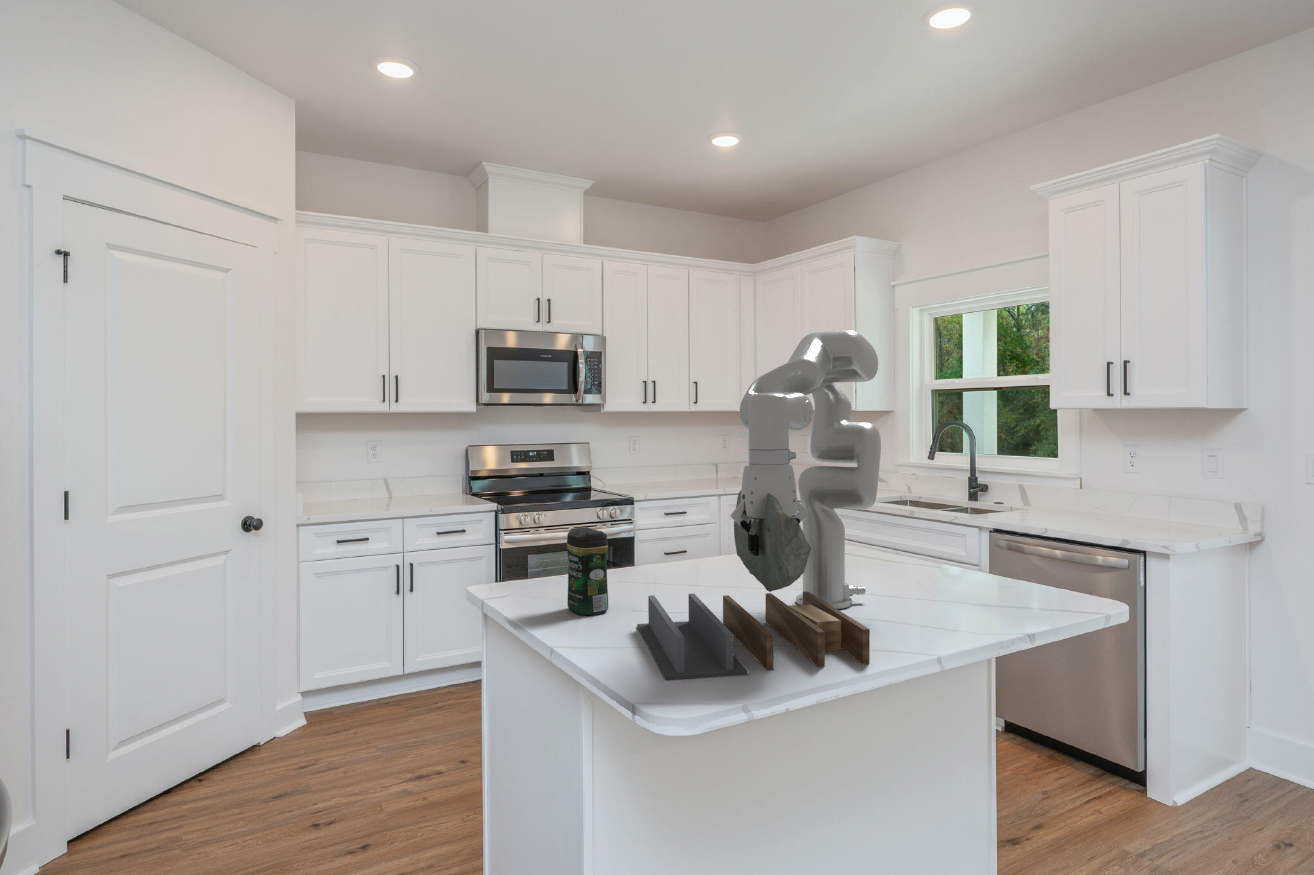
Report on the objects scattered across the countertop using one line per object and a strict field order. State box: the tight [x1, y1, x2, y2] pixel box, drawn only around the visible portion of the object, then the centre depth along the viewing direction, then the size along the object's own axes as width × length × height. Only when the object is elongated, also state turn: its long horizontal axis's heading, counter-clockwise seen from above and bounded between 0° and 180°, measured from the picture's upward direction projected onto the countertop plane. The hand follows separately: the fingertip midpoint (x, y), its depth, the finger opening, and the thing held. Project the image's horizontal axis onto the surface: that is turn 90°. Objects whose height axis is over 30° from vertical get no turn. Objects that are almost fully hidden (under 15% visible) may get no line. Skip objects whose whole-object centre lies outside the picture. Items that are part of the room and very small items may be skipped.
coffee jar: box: [566, 526, 609, 616], centre depth 168 cm, size 10×8×19 cm
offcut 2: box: [825, 631, 842, 644], centre depth 144 cm, size 5×12×2 cm, turn 18°
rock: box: [733, 490, 811, 593], centre depth 142 cm, size 27×6×20 cm, turn 18°
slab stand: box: [636, 593, 749, 681], centre depth 140 cm, size 14×32×7 cm, turn 10°
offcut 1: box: [789, 604, 841, 632], centre depth 144 cm, size 5×12×2 cm, turn 16°
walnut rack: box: [722, 591, 871, 671], centre depth 143 cm, size 19×29×6 cm, turn 10°
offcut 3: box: [825, 642, 842, 651], centre depth 144 cm, size 5×12×2 cm, turn 16°
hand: (769, 553), depth 143 cm, fingers closed on rock, 5 cm apart
